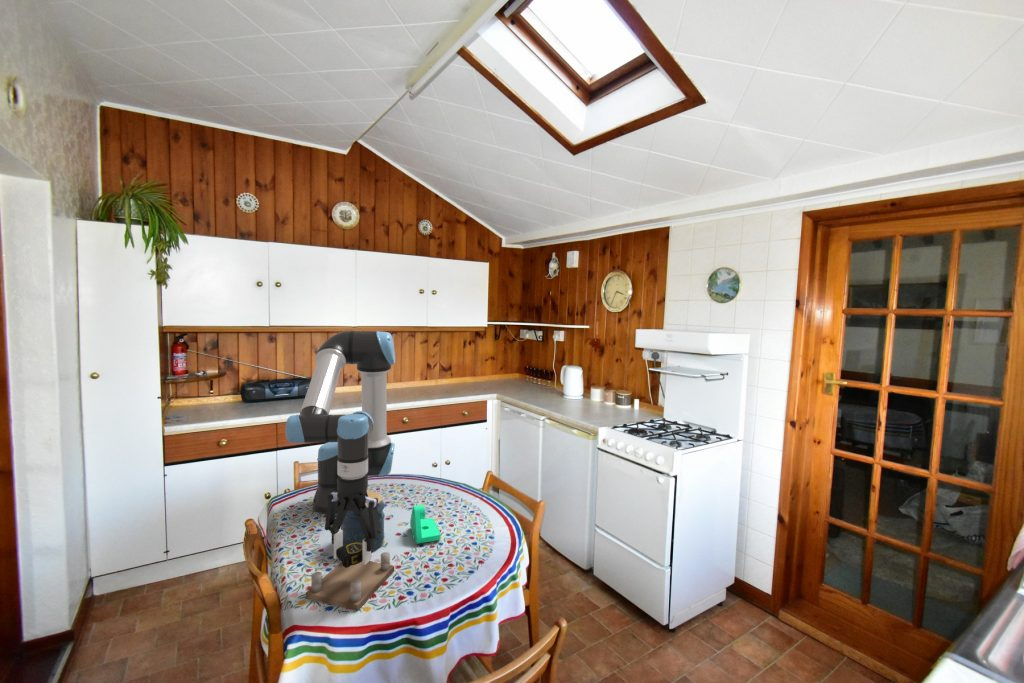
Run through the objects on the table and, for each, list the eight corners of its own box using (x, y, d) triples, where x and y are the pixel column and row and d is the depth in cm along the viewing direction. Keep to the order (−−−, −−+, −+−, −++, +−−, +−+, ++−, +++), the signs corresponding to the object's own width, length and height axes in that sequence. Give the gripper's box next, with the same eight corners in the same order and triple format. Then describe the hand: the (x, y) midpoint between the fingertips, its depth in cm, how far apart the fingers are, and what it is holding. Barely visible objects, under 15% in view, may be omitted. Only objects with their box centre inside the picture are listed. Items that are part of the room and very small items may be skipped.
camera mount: (441, 542, 139) (441, 511, 138) (416, 547, 136) (417, 514, 135) (432, 525, 150) (433, 495, 149) (410, 528, 147) (410, 498, 146)
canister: (372, 529, 146) (372, 477, 144) (392, 544, 136) (392, 489, 135) (333, 542, 136) (333, 487, 135) (351, 560, 127) (351, 501, 126)
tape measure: (335, 559, 116) (335, 545, 116) (361, 551, 120) (361, 538, 120) (342, 572, 111) (342, 557, 110) (369, 563, 115) (370, 549, 114)
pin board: (305, 598, 110) (305, 577, 110) (347, 561, 127) (347, 543, 126) (357, 611, 107) (357, 589, 106) (394, 571, 123) (394, 552, 123)
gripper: (308, 474, 114) (309, 559, 115) (380, 485, 108) (379, 574, 110) (328, 465, 121) (328, 545, 122) (396, 474, 115) (395, 558, 117)
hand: (352, 558), depth 116 cm, fingers closed on tape measure, 8 cm apart
